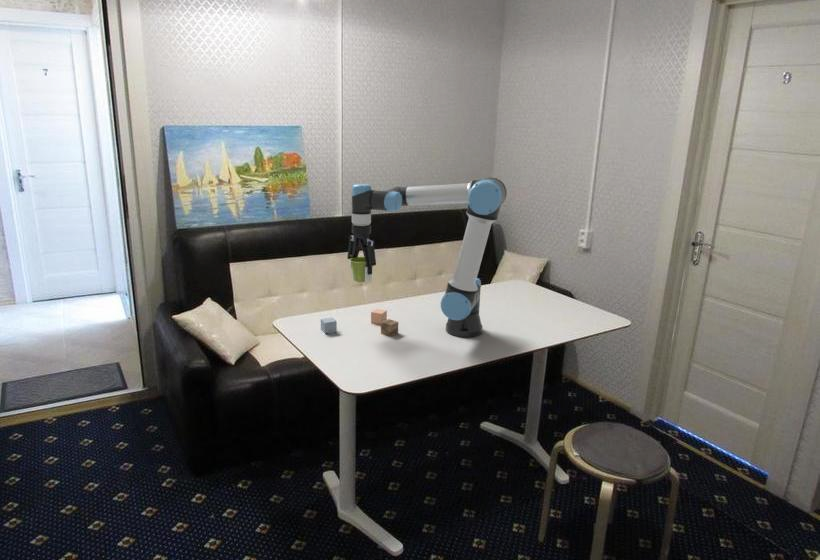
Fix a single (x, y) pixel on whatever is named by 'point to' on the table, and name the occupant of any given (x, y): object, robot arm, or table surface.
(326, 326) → the slate grey cube
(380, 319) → the terracotta cube
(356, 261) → the plant pot
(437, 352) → the table surface
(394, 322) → the walnut cube
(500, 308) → the table surface
